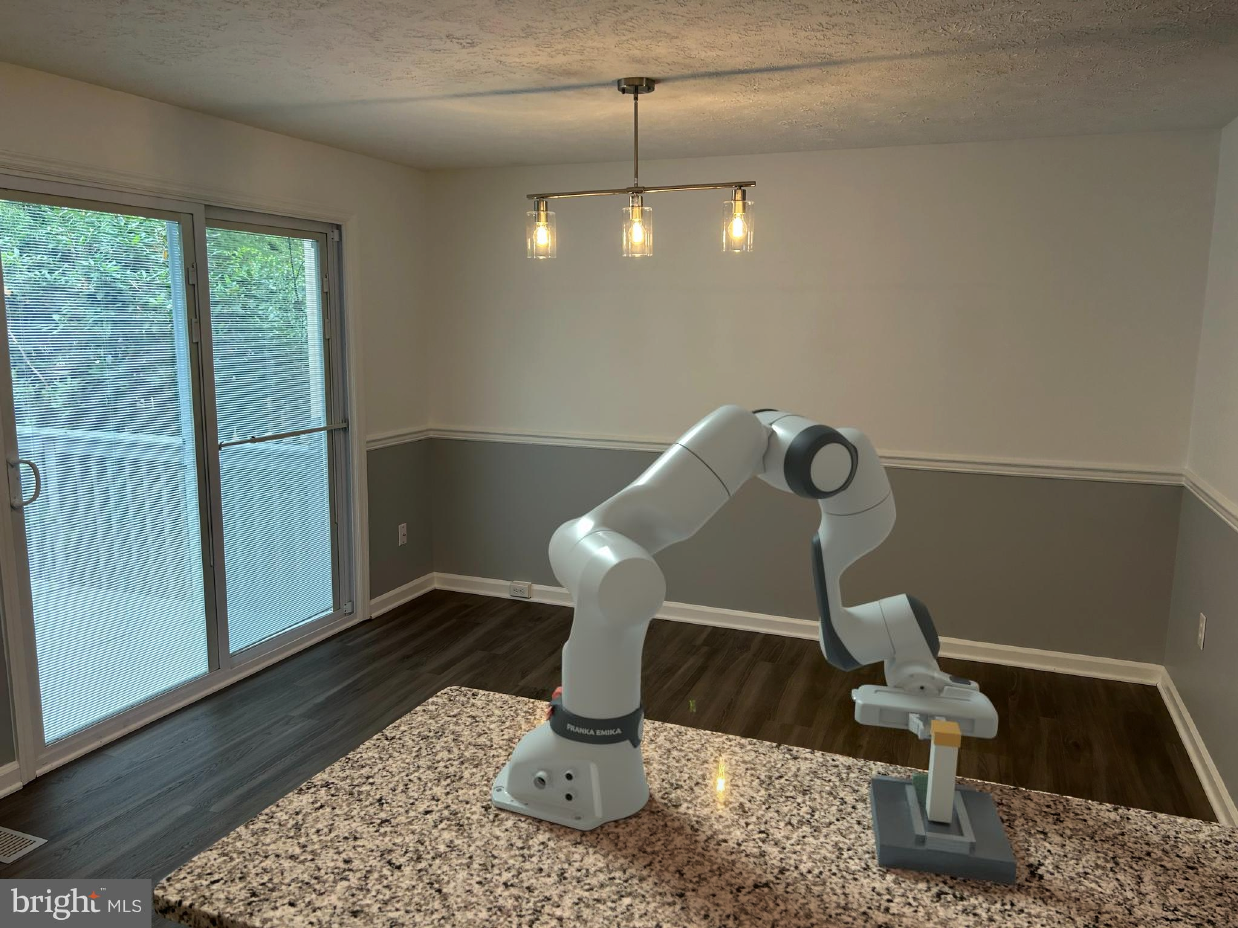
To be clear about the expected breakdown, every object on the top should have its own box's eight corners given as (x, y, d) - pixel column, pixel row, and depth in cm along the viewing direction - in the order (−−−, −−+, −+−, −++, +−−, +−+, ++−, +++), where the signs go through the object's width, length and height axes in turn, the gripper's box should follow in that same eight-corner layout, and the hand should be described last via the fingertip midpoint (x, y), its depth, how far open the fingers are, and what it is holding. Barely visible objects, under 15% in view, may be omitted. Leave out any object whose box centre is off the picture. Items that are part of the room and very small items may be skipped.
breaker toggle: (927, 820, 113) (934, 731, 111) (923, 806, 117) (931, 719, 114) (953, 823, 113) (961, 734, 110) (949, 809, 116) (957, 722, 114)
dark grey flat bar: (876, 796, 125) (877, 788, 125) (874, 781, 129) (875, 774, 128) (979, 809, 122) (980, 801, 122) (974, 794, 126) (975, 786, 126)
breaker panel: (878, 865, 109) (881, 830, 108) (869, 797, 124) (872, 766, 124) (1014, 884, 106) (1018, 849, 105) (988, 812, 121) (991, 780, 120)
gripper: (851, 669, 138) (856, 706, 125) (988, 682, 134) (1008, 723, 121) (849, 706, 139) (853, 747, 126) (984, 720, 135) (1003, 765, 122)
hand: (930, 735), depth 123 cm, fingers closed
